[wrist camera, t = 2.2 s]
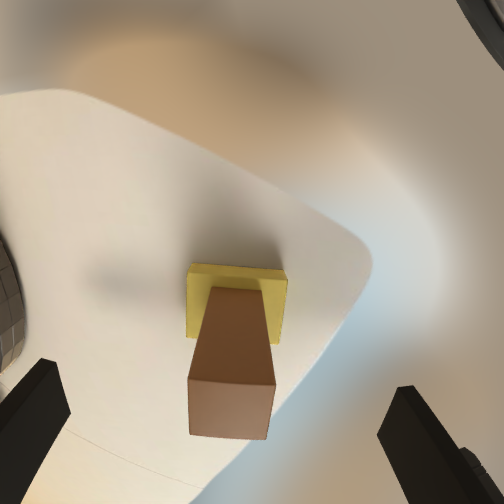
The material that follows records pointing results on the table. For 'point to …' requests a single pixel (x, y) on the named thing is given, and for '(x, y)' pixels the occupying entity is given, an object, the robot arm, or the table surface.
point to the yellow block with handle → (233, 348)
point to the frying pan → (9, 314)
